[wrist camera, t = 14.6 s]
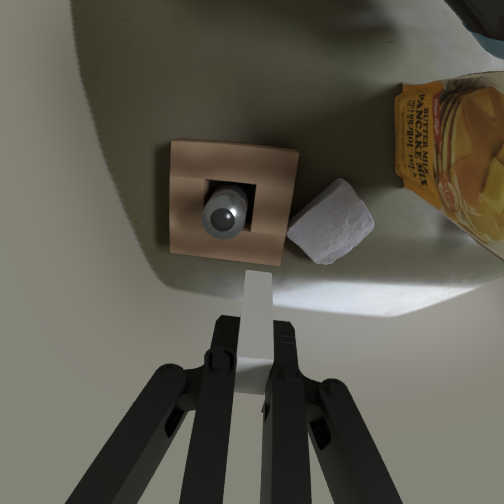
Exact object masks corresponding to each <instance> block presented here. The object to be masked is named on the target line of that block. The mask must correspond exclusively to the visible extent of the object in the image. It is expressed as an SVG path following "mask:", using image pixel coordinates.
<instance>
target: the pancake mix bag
mask: <svg viewBox="0 0 504 504" xmlns="http://www.w3.org/2000/svg"><path fill="white" fill-rule="evenodd" d="M394 120H395V174H396V175H398V176H399V177H401V178H402V179H403V183H404V189H408V190H412V191H413V192H415V193H416V194H417V195H418V196H419V197H421V198H422V199H423V200H425V201H426V202H427V203H428V204H430V205H431V206H433V207H434V208H436V209H437V210H438V211H440V212H441V213H442V214H443V215H444V216H446V217H447V218H448V219H449V220H450V221H452V222H453V223H454V224H455V225H456V226H457V227H459V228H460V229H461V230H462V231H464V232H465V233H467V234H468V235H470V236H471V237H472V238H473V239H474V240H475V241H476V242H477V243H478V244H480V245H481V246H482V247H484V248H485V249H486V250H488V251H489V252H491V253H492V254H494V255H495V256H496V257H498V258H499V259H500V260H502V261H503V262H504V71H489V72H482V73H474V74H468V75H463V76H459V77H456V78H453V79H445V80H439V81H433V82H430V83H427V84H421V85H412V84H407V83H404V82H403V89H402V93H400V94H399V95H397V96H396V97H395V102H394Z"/></svg>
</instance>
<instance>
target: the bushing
mask: <svg viewBox="0 0 504 504" xmlns="http://www.w3.org/2000/svg"><path fill="white" fill-rule="evenodd" d="M248 201H249V193H248V190H247V189H246V187H245V186H244V185H243V184H242V183H240V182H231V181H224V182H222V183H221V184H220V185H219V186H218V187H217V188H216V190H215V191H214V193H213V195H212V196H211V198H210V199H209V201H208V203H207V204H206V206H205V207H204V209H203V211H202V214H201V222H202V225H203V228H204V229H205V231H206V232H207V233H208V234H209V235H211V236H212V237H214V238H217V239H221V240H227V239H231V238H234V237H235V236H237V235H238V234H239V233H240V232H241V231H242V229H243V227H244V223H245V217H246V212H247V206H248Z"/></svg>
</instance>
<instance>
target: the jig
mask: <svg viewBox="0 0 504 504" xmlns="http://www.w3.org/2000/svg"><path fill="white" fill-rule="evenodd" d="M298 159H299V152H298V151H297V150H296V149H289V148H282V147H275V146H268V145H259V144H251V143H241V142H231V141H219V140H205V139H186V138H180V139H176V140H173V141H171V158H170V196H169V223H170V253H177V254H185V255H193V256H201V257H209V258H217V259H225V260H233V261H242V262H250V263H258V264H267V265H276V266H280V263H281V258H282V252H283V247H284V242H285V236H286V231H287V225H288V219H289V213H290V208H291V202H292V196H293V190H294V184H295V178H296V172H297V165H298ZM210 179H211V180H221V181H231V182H240V183H249V184H257V185H256V193H255V201H254V209H253V217H252V221H248V220H245V223H244V227H243V229H242V231H241V232H240V233H239V234H238V235H237V236H235V237H234V238H231V239H227V240H221V239H217V238H214V237H212V236H211V235H209V234H208V233H207V232H206V231H205V229H204V228H203V225H202V222H201V214H202V211H203V209H204V207H205V206H206V204H207V203H208V201H209V188H210Z"/></svg>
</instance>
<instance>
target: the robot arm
mask: <svg viewBox="0 0 504 504" xmlns="http://www.w3.org/2000/svg"><path fill="white" fill-rule="evenodd" d="M444 1H445V2H446V3H447V4H448V6H449V7H450V8H451V9H452V10H453V11H454V12H455V14H456V15H457V16H458V17H459V18H460V20H461V21H462V23H463V25H464V26H465V28H466V29H467V30H468V31H470V32H471V33H472V34H473V36H474V37H475V38H476V40H477V41H478V42H479V43H480V45H481V46H482V47H483V48H484V49H485V50H486V51H487V52H489V53H490V54H492V55H493V56H495V57H498V58H500V59H504V0H444ZM234 392H239V393H249V394H260V395H264V393H265V401H264V404H263V408H262V411H261V412H263V436H262V466H261V493H260V504H312V499H311V478H310V460H309V446H308V433H309V436H310V439H311V441H312V444H313V447H314V450H315V452H316V455H317V458H318V461H319V463H320V466H321V469H322V471H323V474H324V477H325V480H326V482H327V485H328V488H329V490H330V493H331V496H332V498H333V501H334V504H403V503H402V501H401V499H400V496H399V494H398V492H397V490H396V488H395V485H394V483H393V481H392V479H391V477H390V475H389V472H388V470H387V468H386V466H385V464H384V462H383V460H382V458H381V455H380V453H379V452H378V449H377V447H376V445H375V443H374V441H373V439H372V437H371V435H370V433H369V431H368V429H367V427H366V424H365V422H364V420H363V418H362V416H361V414H360V412H359V410H358V408H357V406H356V404H355V402H354V400H353V398H352V396H351V394H350V392H349V390H348V388H347V386H346V385H345V384H344V383H343V382H341V381H340V380H338V379H326V380H324V381H323V382H322V383H321V382H317V381H314V380H311V379H309V378H307V377H305V376H304V375H303V374H302V373H301V372H300V370H299V367H298V359H297V348H296V340H295V330H294V327H293V326H292V324H291V323H290V322H286V321H276V320H273V299H272V273H268V272H259V271H251V270H246V276H245V284H244V293H243V301H242V310H241V317H234V316H226V315H221V316H220V317H219V318H218V320H216V323H215V329H214V333H213V337H212V342H211V347H210V349H209V350H208V351H206V353H205V355H204V365H202V366H201V367H198V368H194V369H186V370H183V368H182V367H180V366H179V365H176V364H165V365H162V366H161V367H159V368H158V369H157V370H156V372H155V373H154V374H153V376H152V377H151V379H150V380H149V382H148V383H147V385H146V386H145V387H144V389H143V390H142V392H141V393H140V394H139V396H138V398H137V399H136V401H135V402H134V403H133V404H132V406H131V407H130V409H129V410H128V412H127V413H126V415H125V416H124V418H123V419H122V420H121V422H120V423H119V425H118V426H117V428H116V429H115V430H114V432H113V434H112V435H111V436H110V438H109V439H108V441H107V442H106V444H105V445H104V446H103V448H102V450H101V451H100V452H99V454H98V455H97V457H96V458H95V460H94V461H93V463H92V464H91V466H90V467H89V468H88V470H87V471H86V473H85V474H84V476H83V477H82V479H81V480H80V482H79V483H78V485H77V486H76V488H75V489H74V491H73V492H72V494H71V495H70V497H69V498H68V500H67V501H66V503H65V504H137V503H138V501H139V499H140V497H141V496H142V494H143V492H144V490H145V489H146V487H147V485H148V483H149V482H150V480H151V478H152V476H153V475H154V473H155V471H156V469H157V468H158V466H159V464H160V462H161V460H162V459H163V457H164V455H165V453H166V451H167V450H168V448H169V446H170V444H171V442H172V440H173V439H174V437H175V435H176V433H177V431H178V430H179V428H180V426H181V424H182V422H183V420H184V419H185V417H186V415H187V413H188V411H190V410H196V413H195V418H194V423H193V428H192V434H191V439H190V444H189V450H188V456H187V461H186V466H185V472H184V478H183V484H182V489H181V495H180V501H179V504H223V494H224V483H225V473H226V463H227V453H228V443H229V434H230V424H231V413H232V404H233V394H234Z"/></svg>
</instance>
